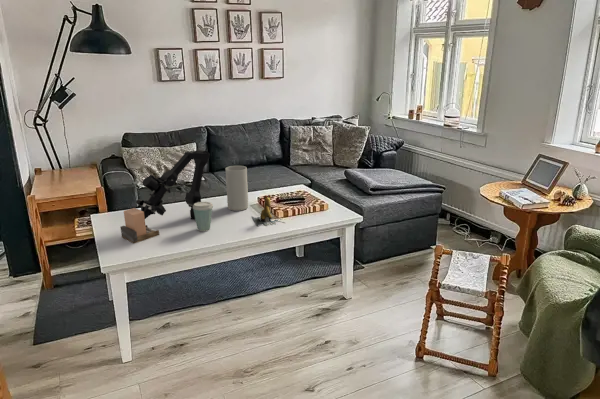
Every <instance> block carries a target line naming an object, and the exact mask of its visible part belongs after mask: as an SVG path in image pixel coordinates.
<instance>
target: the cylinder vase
mask: <svg viewBox="0 0 600 399" xmlns="http://www.w3.org/2000/svg"><path fill="white" fill-rule="evenodd" d="M225 183H226V184H225V185H226V200H227V201H226V203H227V208H228V210H229V211H233V212H239V211H240V212H241V211H246V209H249V192H248V191H249V190H248V188H249V187H248V168H247V166H244V165H230V166H227V167H225Z"/></svg>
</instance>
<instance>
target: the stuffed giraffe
mask: <svg viewBox="0 0 600 399" xmlns="http://www.w3.org/2000/svg"><path fill="white" fill-rule="evenodd" d="M271 198H272V196H271V195H270V194H268V195H264V196H263V200H264V209H262V210H261V211H260V212H261V213H260V215H259V216H257V217H254V216H251V218H252V220H253V221H254V223H255V225H256V227H259V226H261V225H262V224H263V225H262V226H263V227H264V226H273V225H277V223H283V224H286V222H284V221H281V220H279V219H275V220H274V221H271V219H272V220H273V215H271V214H270V213H271V210H270V207H271ZM278 220H279V221H278ZM271 223H272V224H271ZM258 225H259V226H258Z"/></svg>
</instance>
